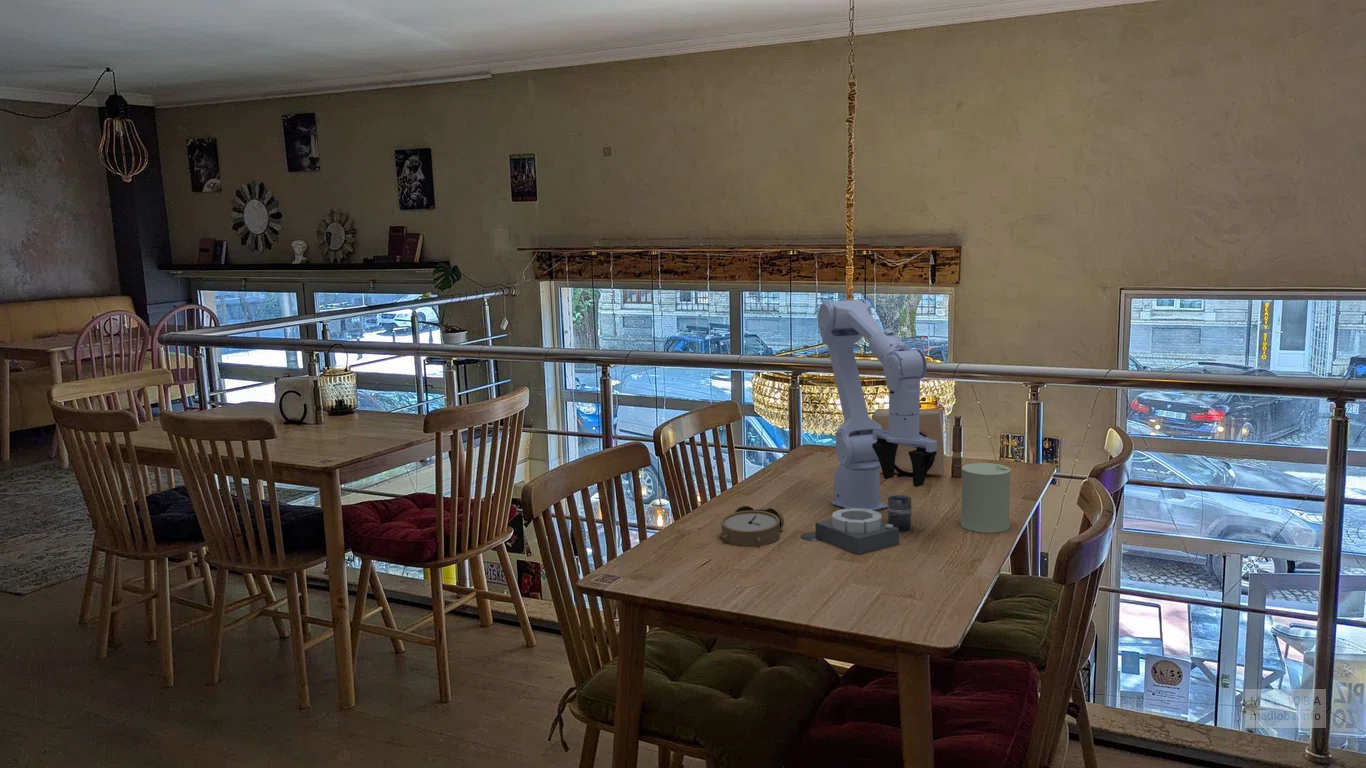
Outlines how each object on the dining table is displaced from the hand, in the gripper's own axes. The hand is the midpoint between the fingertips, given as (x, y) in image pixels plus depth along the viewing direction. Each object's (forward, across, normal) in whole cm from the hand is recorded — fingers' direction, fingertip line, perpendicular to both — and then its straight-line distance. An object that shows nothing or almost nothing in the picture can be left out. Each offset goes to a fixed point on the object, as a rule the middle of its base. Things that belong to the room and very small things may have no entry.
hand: (903, 481), depth 187 cm
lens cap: (+10, -7, -17) cm, 21 cm away
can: (+10, +9, +13) cm, 19 cm away
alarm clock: (+10, -16, -24) cm, 31 cm away
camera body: (+9, 0, -12) cm, 15 cm away
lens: (+9, -1, 0) cm, 9 cm away
